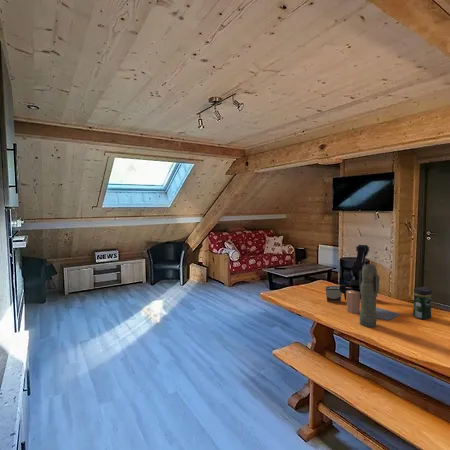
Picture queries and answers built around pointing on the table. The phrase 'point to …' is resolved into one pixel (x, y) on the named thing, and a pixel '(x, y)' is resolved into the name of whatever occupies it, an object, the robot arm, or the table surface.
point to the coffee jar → (422, 303)
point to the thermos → (368, 295)
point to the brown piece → (353, 301)
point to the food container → (333, 294)
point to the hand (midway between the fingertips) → (352, 301)
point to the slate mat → (385, 314)
